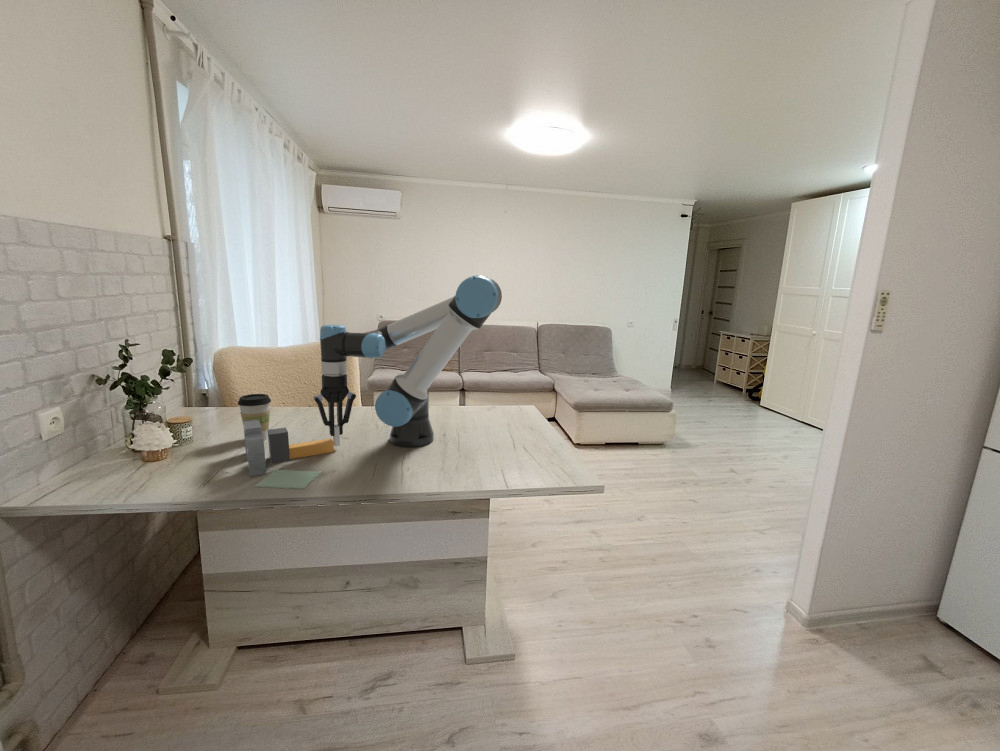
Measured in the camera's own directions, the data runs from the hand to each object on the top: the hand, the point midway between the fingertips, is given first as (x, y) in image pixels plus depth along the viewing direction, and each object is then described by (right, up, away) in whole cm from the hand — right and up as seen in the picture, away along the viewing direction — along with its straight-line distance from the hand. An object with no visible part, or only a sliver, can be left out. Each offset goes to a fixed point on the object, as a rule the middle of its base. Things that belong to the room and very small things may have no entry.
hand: (336, 444), depth 140 cm
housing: (-19, -3, -12) cm, 23 cm away
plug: (-9, -3, -5) cm, 10 cm away
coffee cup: (-30, 0, +7) cm, 31 cm away
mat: (-4, -6, -23) cm, 24 cm away
